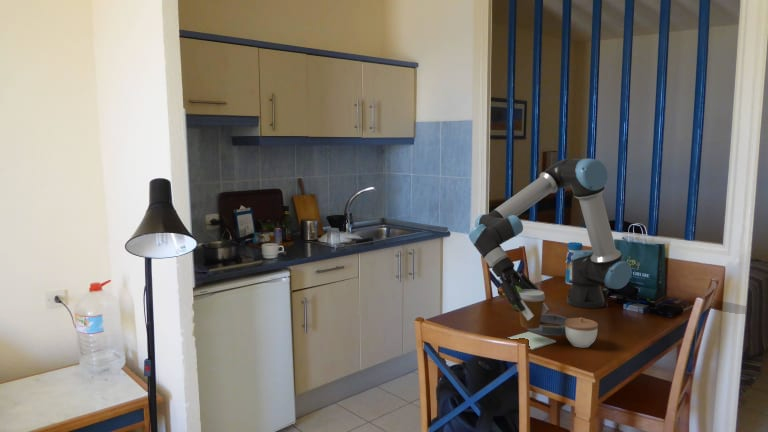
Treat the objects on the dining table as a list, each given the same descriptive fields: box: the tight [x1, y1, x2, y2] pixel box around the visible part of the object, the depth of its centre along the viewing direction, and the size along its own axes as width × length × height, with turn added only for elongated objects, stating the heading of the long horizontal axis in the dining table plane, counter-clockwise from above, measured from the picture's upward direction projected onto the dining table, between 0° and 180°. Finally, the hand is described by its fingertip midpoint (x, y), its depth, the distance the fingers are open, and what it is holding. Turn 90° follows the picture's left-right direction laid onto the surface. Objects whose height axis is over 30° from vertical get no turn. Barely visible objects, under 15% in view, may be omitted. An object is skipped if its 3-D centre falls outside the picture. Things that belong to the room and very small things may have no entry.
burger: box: [497, 285, 508, 300], centre depth 250 cm, size 10×9×5 cm
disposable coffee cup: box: [518, 289, 546, 329], centre depth 191 cm, size 10×10×12 cm
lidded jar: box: [565, 317, 599, 349], centre depth 188 cm, size 11×11×9 cm
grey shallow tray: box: [526, 313, 571, 337], centre depth 205 cm, size 16×16×3 cm
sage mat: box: [508, 331, 557, 350], centre depth 192 cm, size 12×12×1 cm
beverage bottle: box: [564, 241, 583, 286], centre depth 271 cm, size 8×8×20 cm
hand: (538, 314), depth 189 cm, fingers closed on disposable coffee cup, 9 cm apart
